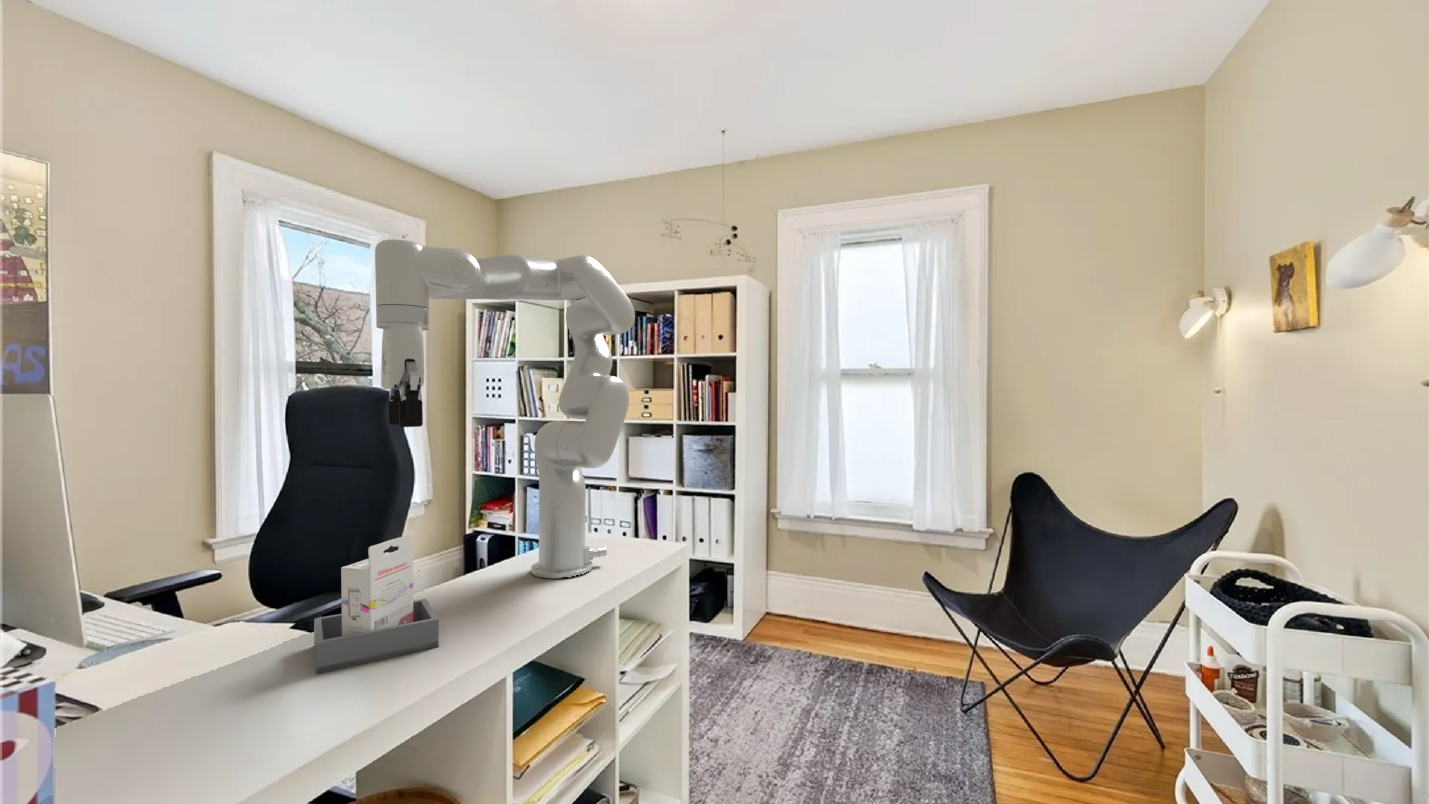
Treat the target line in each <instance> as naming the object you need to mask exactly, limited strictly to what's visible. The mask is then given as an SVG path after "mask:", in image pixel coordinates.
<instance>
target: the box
mask: <svg viewBox="0 0 1429 804" xmlns="http://www.w3.org/2000/svg"><path fill="white" fill-rule="evenodd" d="M313 623H314V626H313V632H314V633H313V637H314V638H313V650H314V665H315V675H319V674H323V673H327V672H332V671H336V670H341V669H345V668H349V667H354V666H355V667H356V666H358V665H363V664H368V663H372V662H376V661H380V660H381V661H382V660H384V659H385V660H387V659H390V658H394V657H399V656H402V655H408V654H412V653H417V652H421V651H426V650H430V649H435V648H439V647H440V646H439V645H440V643H439V642H440V637H439V635H440V631H439V630H440V619H439V617H438V616H437V614H436V612H435V611H434V609H433V608H432V606H431V605H430V603H429V602H428V600H427V598H423V599H417V600H413V622H412V623H407V624H402V625H397V626H392V627H386V628H381V629H376V630H371V631H366V632H361V633H356V634H351V635H346V636H342V613H338V614H332V615H327V616H321V617H317V618H314V620H313Z"/></svg>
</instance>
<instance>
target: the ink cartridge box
mask: <svg viewBox="0 0 1429 804" xmlns="http://www.w3.org/2000/svg"><path fill="white" fill-rule="evenodd" d="M412 545H413V543H412V536H411V534H406V535H403V536H399V537H396V538H392V539H389V540H386V541H384V542H383V541H382V542H381V543H377V544H374V545H370V546H369V547H368V550H367V553H368V558H365V559H363V560H360V561H357V562H354V563H351V564H349V565H345V566H342V567H341V568H340V572H341V573H340V576H341V578H340V580H341V581H340V582H341V587H340V589H341V591H340V592H341V595H340V596H341V614H342V636H346V635H351V634H356V633H361V632H366V631H371V630H376V629H381V628H386V627H392V626H397V625H402V624H407V623H412V622H413V601H414V553H413V547H412ZM390 547H393V548H395V547H397V550H394V551H393V552H387V551H386V550H389V548H390ZM385 551H386V552H385Z"/></svg>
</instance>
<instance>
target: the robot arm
mask: <svg viewBox="0 0 1429 804" xmlns="http://www.w3.org/2000/svg"><path fill="white" fill-rule="evenodd" d="M374 261H375V262H374V266H375V267H374V268H375V269H374V270H375V275H374V276H375V319H376V322H375V323H376V326H375V327H376V328H377V329H380V330H382V338H381V366H380V367H381V370H380V371H381V372H380V374H381V375H380V387H381V388H382V389H383V390H389V393H388V402H387V403H388V405H387V406H388V423H389V425H391V426H392V425H394V426H395V425H399V427H400V428H415V427H418V428H419V427H423V423H424V420H423V418H424V417H423V413H424V412H423V396H422V390H421V389H422V387H423V386H424V383H425V353H424V352H425V351H424V350H425V349H424V348H425V347H424V335H423V332H424V331H429V330H430V306H429V305H430V304H429V303H430V299H433V300H493V301H494V300H495V301H506V300H507V301H509V300H511V301H512V300H513V301H514V300H515V301H516V300H522V301H525V300H527V301H528V300H531V301H537V300H538V301H567V300H575V299H579V300H576V301H573V302H572V303H571V304H570V305H568V307H567V310H566V313H565V321H566V322H565V323H566V325H567V328H568V330H569V332H570V335H571V337H572V340H573V343H574V349H575V351H574V352H575V353H574V358H573V361H572V364H571V365H570V369H569V371H568V374H567V377H566V379H565V381H564V384H563V386H562V388H561V392H560V393H559V397H558V398H559V399H558V407H559V410H560V412H561V413H562V414H563V415H564V416H566V417H568V418H570V419H571V418H572V419H576V420H553V421H549V422H547V423H545V424H544V425H542V427H540V428H539V429H538V431H537V433H536V434H535V438H534V454H535V459H536V465H537V471H538V491H539V492H538V497H539V499H538V500H539V501H538V513H539V514H538V561H537V562H535V563H533V564H532V565H531V566H530V573H531V574H532V575H533V576H535V577H539V578H542V577H543V578H544V579H563V578H562V577H568V578H573V577H572V576H574V577H577V576H576V575H579V576H581V575H580V574H582V575H585V574H587V573H589V572H591V571H592V570H593V562H592V561H591V560H593V559H594V558H601V557H606V556H607V554H608V549H607V547H605V546H602V547H596V546H590V547H589V546H587V545H586V494H587V492H586V491H587V490H586V487H587V486H586V481H585V477H584V473H583V472H582V469H581V468H583V469H597V468H600V467H603V466H605V465H606V463H608V461H609V460H611V459H610V458H611V457H612V455H613V453H614V451H615V448H616V445H617V442H618V439H619V436H620V434H621V431H622V429H623V425H624V422H625V419H626V417H627V413H628V410H629V406H630V398H629V397H630V394H629V391H628V387H627V385H626V383H625V382H624V381H623V380H622V379H620V378H619V377H618V376H614V375H610V374H611V371H612V367H613V356H612V352H611V349H610V348H609V346H608V343H607V342H606V339H605V337H604V336H610V335H621V334H624V333H626V332H628V331H629V330H630V329H632V327H633V325H634V323H635V321H636V319H635V318H636V314H635V309H634V305H633V303H632V302H631V299H630V298H629V296H628V295H627V294H626V293H625V292H624V290H623V289H622V288H621V286H619V284H618V283H617V282H616V280H615V279H614V278H613V277H612V275H611V274H610V272H608V270H607V269H606V268H605V267H604V266H603V265H602V264H601V263H600V262H598V261H597V260H596V259H595V258H593V257H591V256H590V255H586V254H582V255H575V256H570V257H565V258H551V257H550V258H549V257H539V256H529V255H521V254H520V255H519V254H502V255H496V256H495V255H494V256H490V257H489V256H488V257H482V258H475V257H474V256H473V255H471V254H470V253H469V252H467V251H465V250H462V249H459V248H455V247H440V246H428V245H422V244H420V243H417V242H415V241H411V240H406V239H397V238H396V239H394V238H392V239H391V238H390V239H385V240H381V241H379V242H378V243H377V244H376V246H375V249H374ZM578 420H579V421H578ZM580 420H582V421H580ZM583 420H585V421H583ZM591 569H592V570H591ZM588 571H589V572H588ZM586 572H587V573H586ZM584 573H585V574H584Z"/></svg>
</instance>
